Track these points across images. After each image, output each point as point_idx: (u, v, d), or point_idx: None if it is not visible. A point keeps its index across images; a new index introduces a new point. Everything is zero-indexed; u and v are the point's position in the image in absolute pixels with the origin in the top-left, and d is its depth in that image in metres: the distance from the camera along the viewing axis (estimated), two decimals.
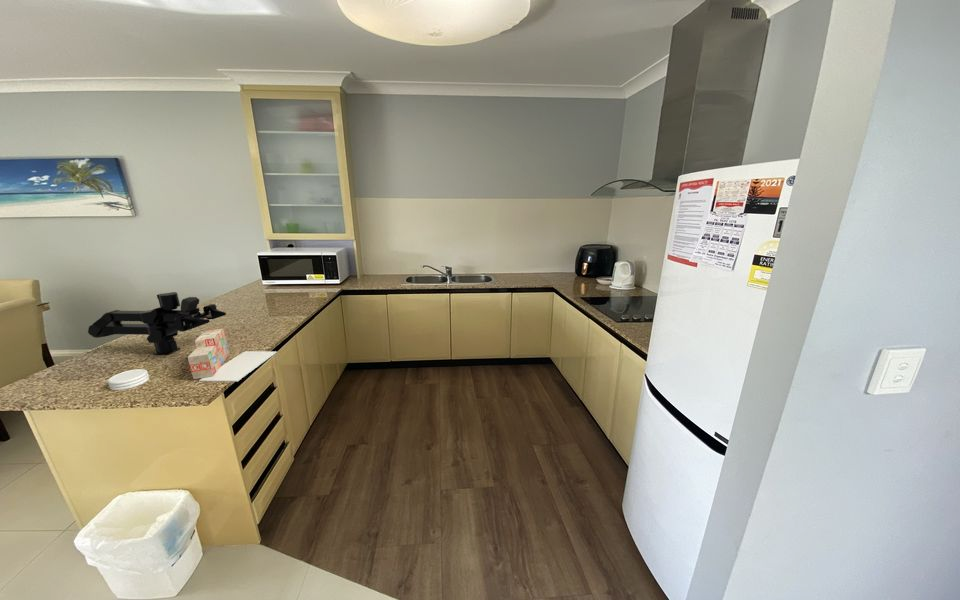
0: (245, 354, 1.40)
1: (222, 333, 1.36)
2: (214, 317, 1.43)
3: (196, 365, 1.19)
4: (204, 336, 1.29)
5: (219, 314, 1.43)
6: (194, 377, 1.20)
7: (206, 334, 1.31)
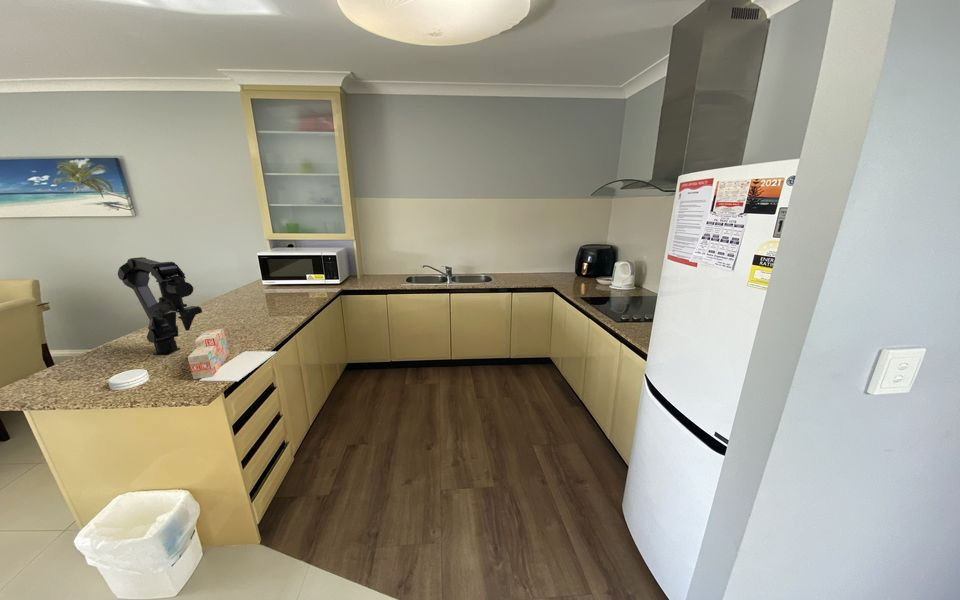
0: (245, 354, 1.40)
1: (222, 333, 1.36)
2: None
3: (196, 365, 1.19)
4: (204, 336, 1.29)
5: None
6: (194, 377, 1.20)
7: (206, 334, 1.31)
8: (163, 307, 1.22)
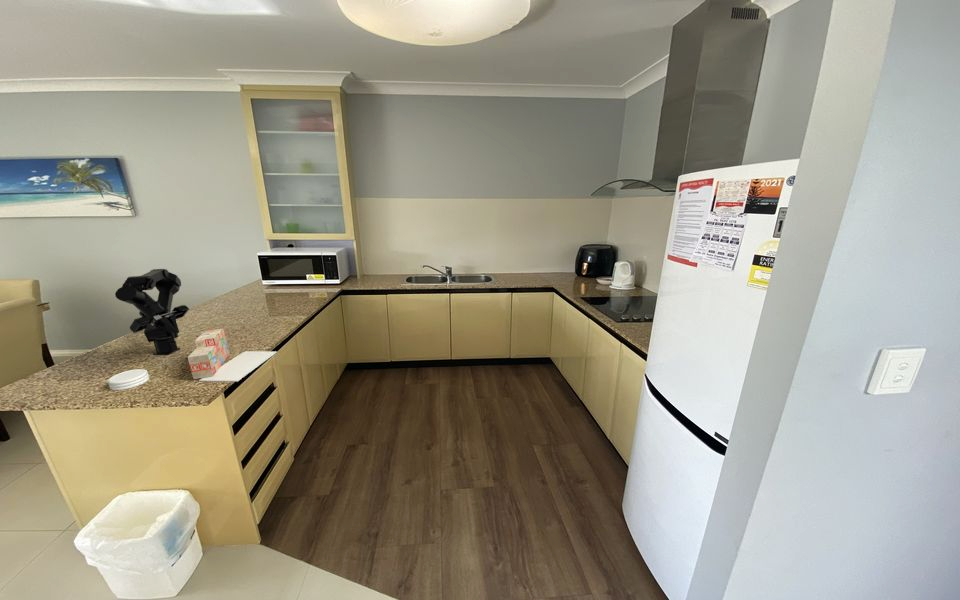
0: (245, 354, 1.40)
1: (222, 333, 1.36)
2: None
3: (196, 365, 1.19)
4: (204, 336, 1.29)
5: None
6: (194, 377, 1.20)
7: (206, 334, 1.31)
8: None
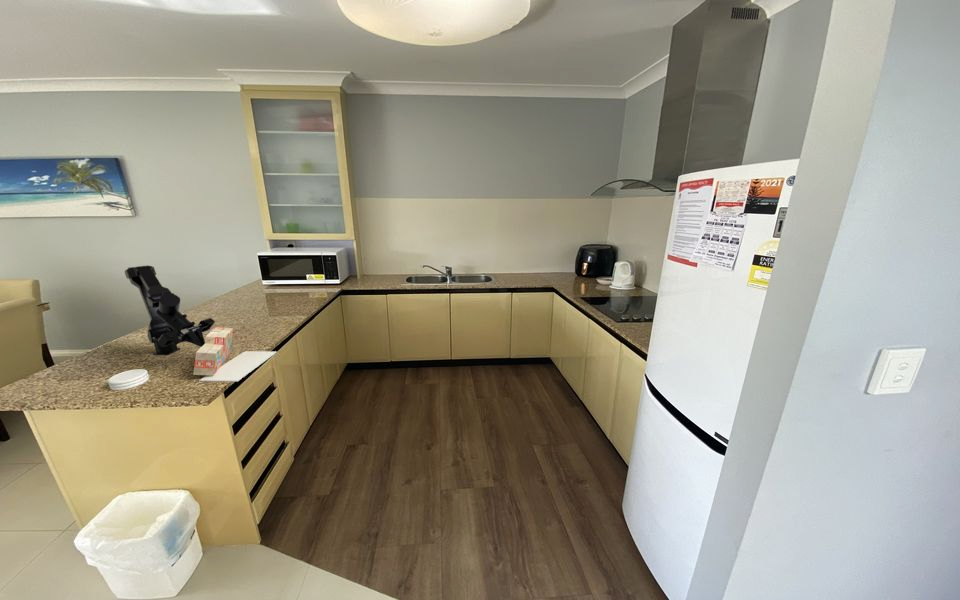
0: (245, 354, 1.40)
1: (231, 333, 1.37)
2: None
3: (201, 361, 1.20)
4: (215, 333, 1.30)
5: None
6: (194, 373, 1.20)
7: (217, 331, 1.32)
8: None
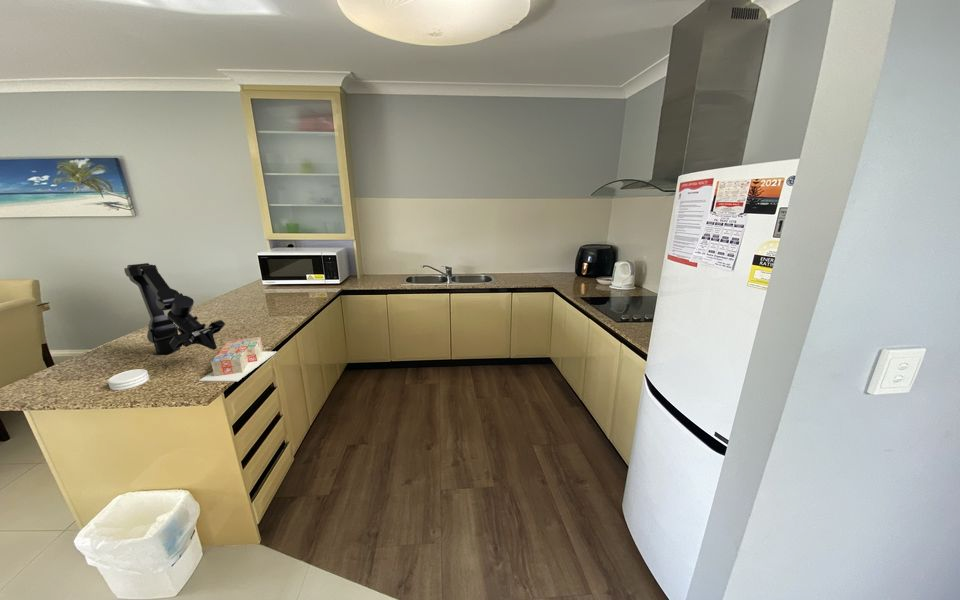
0: None
1: None
2: None
3: (229, 364, 1.23)
4: (257, 348, 1.37)
5: None
6: (213, 362, 1.21)
7: (258, 346, 1.39)
8: None
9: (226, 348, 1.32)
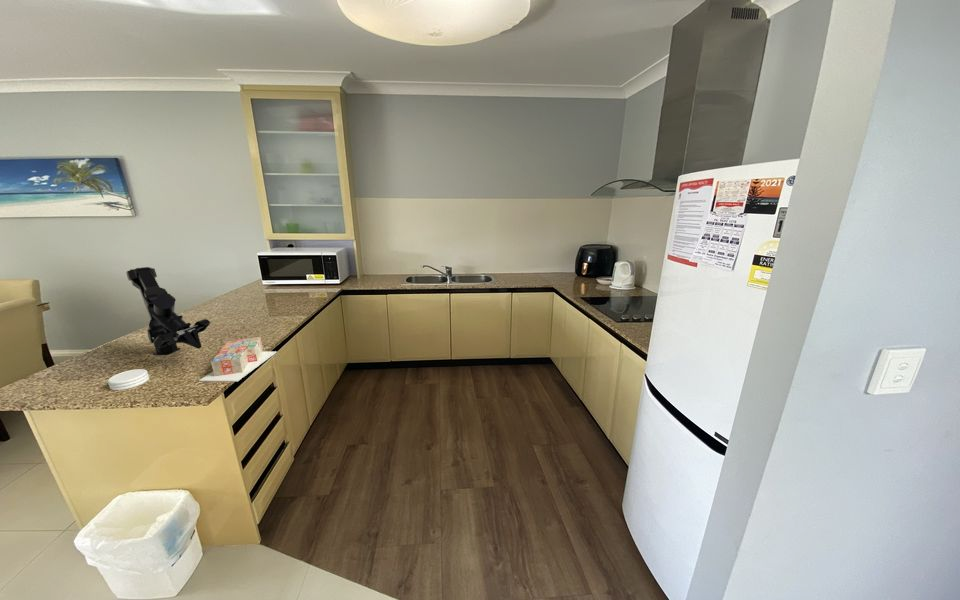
0: None
1: None
2: None
3: (229, 364, 1.23)
4: (257, 348, 1.37)
5: None
6: (213, 362, 1.21)
7: (258, 346, 1.39)
8: None
9: (226, 348, 1.32)
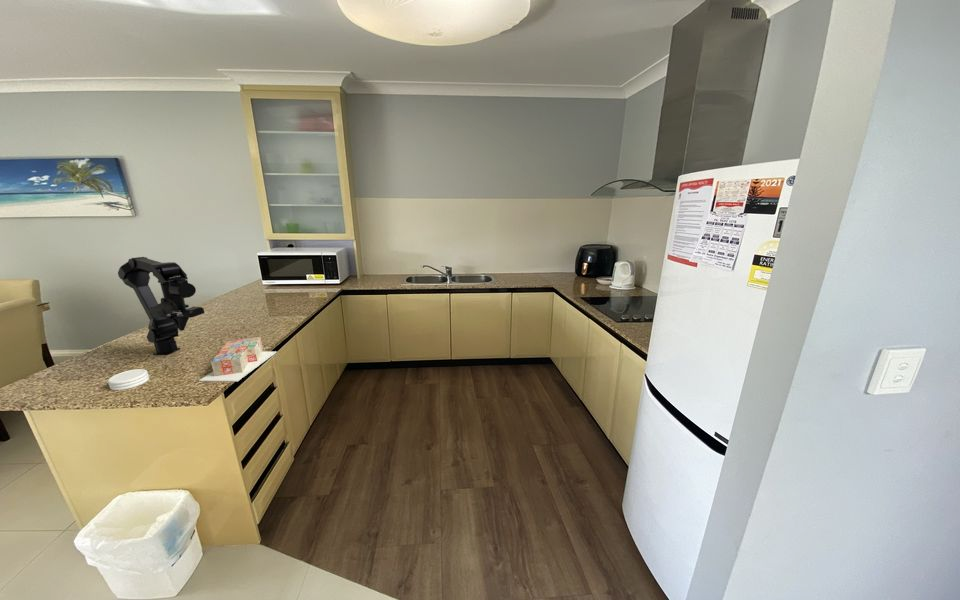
0: None
1: None
2: None
3: (229, 364, 1.23)
4: (257, 348, 1.37)
5: None
6: (213, 362, 1.21)
7: (258, 346, 1.39)
8: (166, 308, 1.23)
9: (226, 348, 1.32)
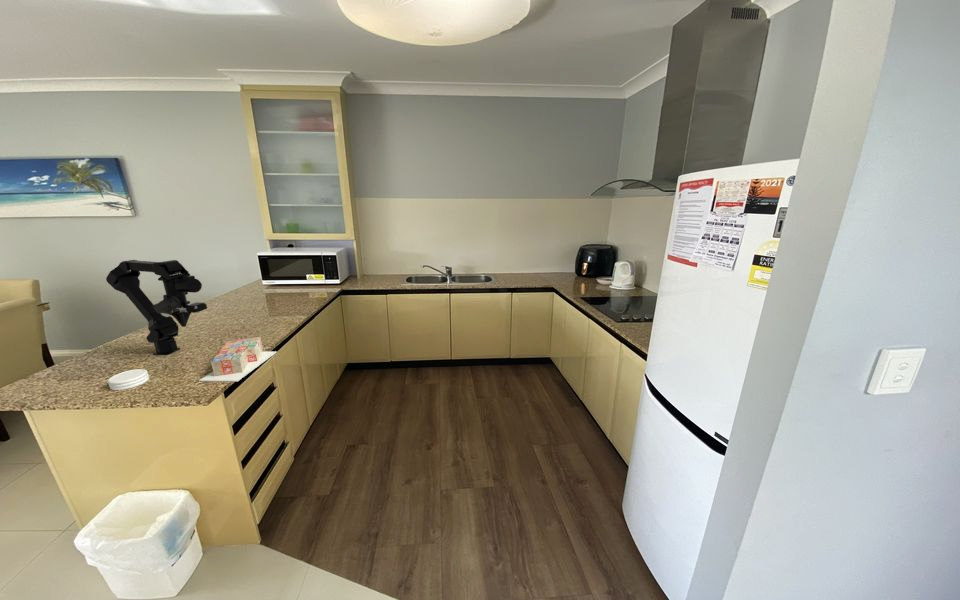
0: None
1: None
2: None
3: (229, 364, 1.23)
4: (257, 348, 1.37)
5: None
6: (213, 362, 1.21)
7: (258, 346, 1.39)
8: (172, 304, 1.27)
9: (226, 348, 1.32)
